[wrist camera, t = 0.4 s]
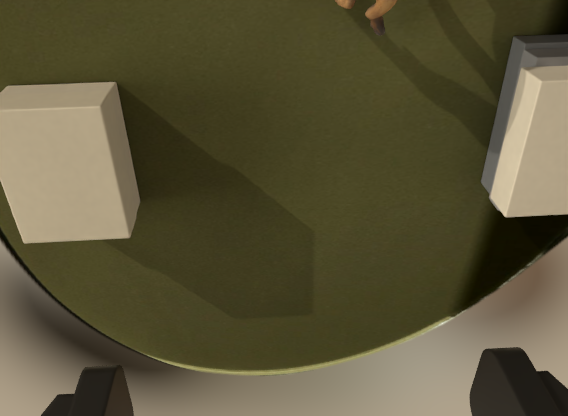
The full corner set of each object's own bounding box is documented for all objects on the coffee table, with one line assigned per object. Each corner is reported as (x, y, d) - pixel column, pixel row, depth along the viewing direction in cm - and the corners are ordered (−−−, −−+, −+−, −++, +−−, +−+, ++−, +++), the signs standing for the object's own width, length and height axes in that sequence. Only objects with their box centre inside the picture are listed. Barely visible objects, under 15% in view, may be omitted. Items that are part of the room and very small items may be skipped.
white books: (5, 80, 28) (-31, 111, 25) (119, 76, 29) (100, 106, 25) (46, 206, 33) (21, 248, 29) (144, 201, 33) (131, 242, 30)
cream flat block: (520, 66, 27) (540, 81, 25) (632, 62, 27) (660, 76, 25) (489, 197, 31) (504, 218, 29) (586, 192, 31) (607, 212, 30)
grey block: (512, 35, 29) (538, 51, 26) (591, 33, 29) (623, 48, 27) (479, 186, 34) (498, 211, 32) (545, 183, 34) (569, 207, 32)
